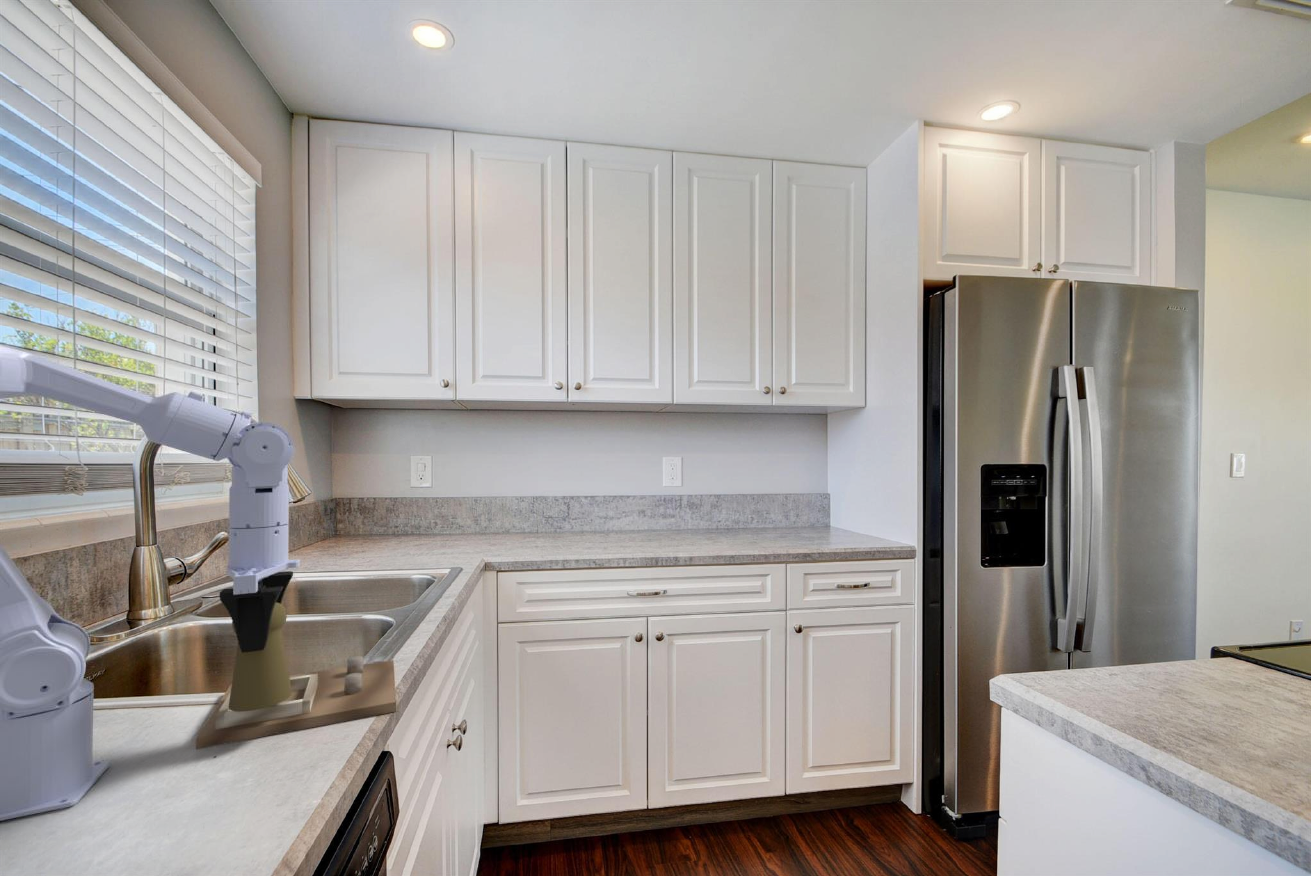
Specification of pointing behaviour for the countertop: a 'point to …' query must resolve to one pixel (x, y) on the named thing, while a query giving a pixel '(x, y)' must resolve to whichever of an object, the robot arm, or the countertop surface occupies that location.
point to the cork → (262, 671)
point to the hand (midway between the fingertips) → (258, 642)
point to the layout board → (309, 703)
